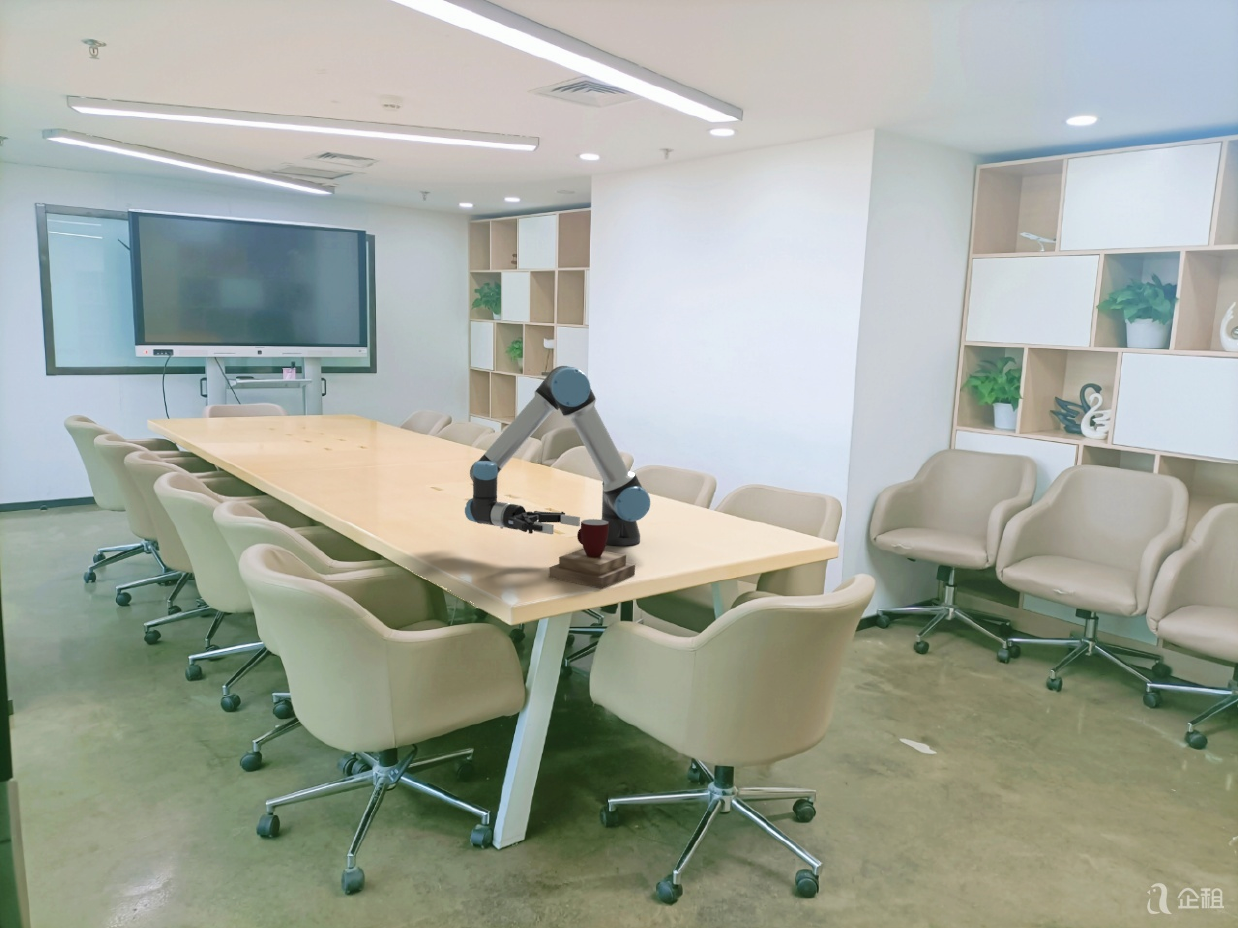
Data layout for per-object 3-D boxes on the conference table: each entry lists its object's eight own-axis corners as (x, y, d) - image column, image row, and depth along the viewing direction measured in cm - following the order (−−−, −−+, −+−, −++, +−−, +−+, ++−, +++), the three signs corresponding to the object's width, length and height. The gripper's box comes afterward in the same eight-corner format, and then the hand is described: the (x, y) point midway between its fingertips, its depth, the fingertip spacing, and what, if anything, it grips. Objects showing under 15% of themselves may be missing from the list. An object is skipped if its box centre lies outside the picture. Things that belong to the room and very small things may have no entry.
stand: (583, 564, 264) (584, 545, 263) (634, 574, 254) (635, 554, 254) (549, 577, 248) (549, 557, 248) (601, 588, 239) (602, 567, 238)
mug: (567, 554, 251) (568, 520, 249) (584, 549, 257) (585, 516, 256) (596, 560, 245) (598, 526, 243) (613, 555, 252) (614, 522, 250)
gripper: (533, 521, 276) (589, 530, 266) (482, 535, 255) (540, 546, 244) (534, 498, 275) (589, 506, 264) (482, 510, 254) (541, 520, 243)
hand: (566, 525), depth 254 cm, fingers open, 13 cm apart
